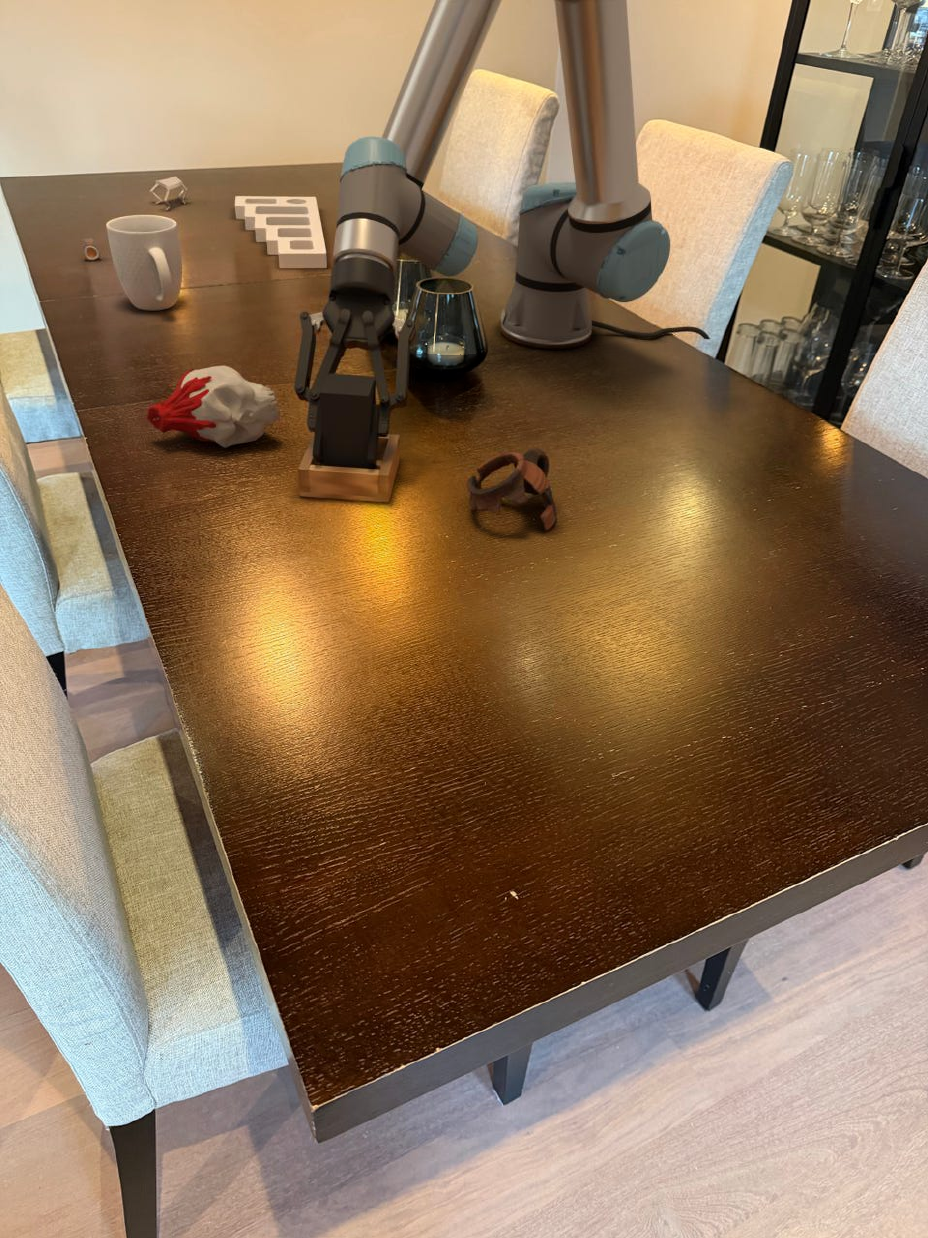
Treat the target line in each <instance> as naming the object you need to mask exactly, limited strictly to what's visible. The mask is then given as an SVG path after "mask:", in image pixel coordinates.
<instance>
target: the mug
mask: <svg viewBox="0 0 928 1238" xmlns="http://www.w3.org/2000/svg"><path fill="white" fill-rule="evenodd" d="M105 227H106V233H107V238H108V239H107V240H108V243H109V249H110V254H111V259H112V262H113V267H114V270H115V273H116V276H117V280H118V281H119V284H120V285H121V288H122V290H123V292H124V294H125V296H126V297H127V298H128V300H129V301H130V303H131V304H132V305H133V306H134V307H135V308H137V309H139V310H143V311H150V312H151V311H152V312H153V311H163V310H167V309H170V308H172V307H174V306H175V304H176V303H177V301H178V299H179V297H180V293H181V289H182V282H183V279H182V278H183V258H182V257H183V256H182V250H181V241H180V236H179V230H178V229H179V228H178V223H177V221H176V220H174V219H173V218H170V217H166V216H162V215H155V214H134V215H125V216H120V217H116V218H112V219H111V220H109V221H107V222H106V225H105Z"/></svg>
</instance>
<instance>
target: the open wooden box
mask: <svg viewBox="0 0 928 1238" xmlns="http://www.w3.org/2000/svg"><path fill="white" fill-rule="evenodd" d="M314 435H315V432H313V433H312V436H311V438H310V441H309V443H308V445H307V447H306V450H305V451H304V454H303V457H302V459H301V460H300V464H299V465H298V468H297V475H298V488H299V489H298V490H299V497H305V498H318V499H319V498H320V499H332V500H347V501H348V500H349V501H359V502H373V503H374V502H375V503H387V504H388V503H389V502H390V499H391V495H392V491H393V489H394V483H395V480H396V476H397V473H398V469H399V464H400V437H401V436H400V434H393V433H392V434H391V433H389V434H388V435H387V437H379V442H378V452H377V462H376V467H375V469H361V468H347V467H333V466H323V463H322V462H316V460H315V459H314V457H313V455H312V454H313V444H314Z"/></svg>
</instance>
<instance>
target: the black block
mask: <svg viewBox="0 0 928 1238" xmlns="http://www.w3.org/2000/svg"><path fill="white" fill-rule="evenodd" d="M319 396H320V416H321V434H322V454H323V466H333V467H347V468H361V469H375V466H369V463H368V460H367V454H368V443H369V435H370V425H371V414H372V404H377V387H376V382H375V377H374V375H373V376H371V375H359V374H345V373H335V374H333V373H329V374H328V375H327V377H326V379H325V382H324V384H323V386H322V388H321V390H320V392H319Z"/></svg>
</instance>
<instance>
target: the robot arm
mask: <svg viewBox="0 0 928 1238" xmlns="http://www.w3.org/2000/svg"><path fill="white" fill-rule="evenodd" d="M502 1H503V0H435V1H434V3H433V6H432V8H431V11H430V14H429V16H428V19H427V21H426V24H425V26H424V29H423V32H422V34H421V37H420V38H419V41H418V44H417V46H416V49H415V51H414V54H413V57H412V59H411V62H410V64H409V67H408V69H407V72H406V74H405V77H404V79H403V82H402V84H401V86H400V90H399V92H398V95H397V97H396V100H395V101H394V105H393V106H392V110H391V112H390V115H389V118H388V120H387V122H386V125H385V128H384V130H383V133H382V135H381V136H373V135H371V136H364V137H360V138H357V139H355V141H353V142H352V143H350V144H349V145H348V147H347V148H346V151H345V154H344V158H343V161H342V166H341V167H342V168H341V174H340V177H339V183H340V184H339V195H338V204H337V205H338V207H337V217H336V226H335V227H336V228H335V235H334V241H333V242H334V243H333V251H332V259H331V261H332V267H331V271H330V280H329V281H330V282H329V289H328V290H329V291H328V299H327V303H326V304H325V306H324V307H323V309H322V311H321V312H317V313H312V314H311V313H309V312H308V311H302V312H300V314H299V320H300V325H301V330H302V332H301V339H300V345H299V346H300V347H299V352H298V359H297V365H296V372H295V379H294V385H293V390H294V392H295V394H296V396H297V397H298V399H299V400H300V401H302V402H303V401H305V402H307V403H308V409H307V419H306V425H307V428H308V430H309V432H310V433H314V432H315V435H314V444H313V454H312V455H313V457H314V459H315V460H316V462H322V463H323V454H322V434H321V416H320V396H319V392H320V390H321V388H322V386H323V384H324V382H325V379H326V377H327V375H328V374H329V373H333V374H337V373H336V372H337V370H338V367H339V365H340V363H341V360H342V358H343V357H344V356H345V354H346V351H347V350H352V349H361V350H363V351H369V355H370V361H371V365H372V366H371V367H372V372H373V376H374V377H375V382H376V393H377V396H378V401H379V403H376V404H372V414H371V425H370V435H369V443H368V454H367V460H368V463H369V466H375V467H376V462H377V452H378V442H379V437H387V435H388V434H390V424H391V423H390V421H391V413H392V412H393V410H395V409H399V408H400V409H405V408H406V407H407V405H408V398H409V397H408V395H409V378H410V375H409V374H410V359H411V357H410V356H411V347H412V345H413V342H414V340H415V338H416V336H417V331H416V323H415V321H414V320H413V319H410V318H409V319H406V320H403V319H400V318H398V317H396V315H395V312H394V310H393V306H394V298H395V297H394V295H395V285H396V277H395V274H396V272H397V264H398V255H399V254H398V253H399V252H401V253H402V254H404V255H406V256H408V257H409V258H411V259H414V260H415V261H417V262H419V263H420V264H423V265H424V266H426V267H427V268H428V269H429V270H431V271H432V272H437V273H438V274H441V275H442V276H445V277H454V276H458V275H459V274H461V273H462V272H464V271H465V270H466V269H467V268H468V267H469V266H470V264H471V262H472V259H473V258H474V255H475V254H476V252H477V250H478V241H479V235H478V231H477V228H476V226H475V225H474V224H473V223H472V222H471V221H470V220H468V219H467V218H465V216H463V214H462V213H461V212H458V211H456V210H454V209H453V208H451V207H450V206H448V205H447V204H445V203H443V202H442V201H441V200H439V199H437V198H436V197H434V196H432V195H431V194H430V193H428V192H426V191H425V190H423V188H424V185H425V183H426V181H427V179H428V177H429V174H430V171H431V169H432V167H433V165H434V163H435V159H436V157H437V155H438V152H439V151H440V148H441V145H442V144H443V140H444V139H445V136H446V133H447V131H448V129H449V127H450V124H451V121H452V119H453V117H454V115H455V112H456V110H457V107H458V105H459V102H460V101H461V98H462V96H463V94H464V91H465V89H466V86H467V83H468V82H469V79H470V77H471V74H472V72H473V70H474V67H475V65H476V63H477V61H478V57H479V56H480V54H481V51H482V48H483V46H484V44H485V42H486V39H487V36H488V34H489V31H490V30H491V27H492V25H493V22H494V20H495V18H496V15H497V13H498V10H499V8H500V6H501V3H502ZM553 1H554V8H555V16H556V26H557V35H558V42H559V43H558V44H559V52H560V61H561V69H562V77H563V86H564V94H565V101H566V102H565V104H566V112H567V121H568V130H569V137H570V139H569V140H570V147H571V156H572V165H573V174H574V182H573V181H572V182H571V181H570V182H567V181H566V182H565V181H564V182H562V181H561V182H545V183H537V184H532V185H530V186H528V187H527V188H525V190H524V191H523V193H522V197H521V204H520V210H519V212H518V214H519V219H518V221H519V222H518V235H517V248H516V249H517V250H516V251H517V252H516V263H515V278H514V284H513V288H512V290H511V292H510V295H509V297H508V300H507V302H506V305H505V307H503V308H502V310H501V314H500V326H499V330H500V331H499V332H500V333H501V334H502V336H503V337H504V338H506V339H507V340H509V341H511V342H513V343H516V344H518V345H522V346H526V347H530V348H535V349H545V350H562V349H563V350H564V349H571V348H577V347H580V346H582V345H584V344H587V343H588V342H589V341H590V340H591V338H592V333H593V327H595V328H599V329H603V330H606V331H610V332H611V333H616V334H619V335H623V336H629V337H632V338H633V337H634V338H639V339H654V338H658V337H660V336H662V335H665V334H674V333H675V334H676V333H684V332H686V333H687V332H689V333H695V334H697V335H699V336H701V338H703V340H711V337H710V336H709V335H708V334H707V333H706V332H705V331H704V330H703V329H701V328H699V327H696V326H689V325H687V326H677V327H664V328H662V329H659V330H657V331H654V332H640V331H633V330H629V329H624V328H621V327H617V326H614V325H611V324H608V323H604V322H601V321H596V320H593V319H592V316H591V310H590V304H589V298H588V293H587V290H588V291H591V292H593V293H595V294H597V295H599V296H600V297H602V298H603V299H608V300H609V299H610V300H613V301H615V302H618V303H630V302H633V301H636V300H638V299H640V298H641V297H643V296H645V295H646V294H648V292H650V291H651V289H652V288H653V287H655V285H656V284H657V282H658V281H659V278H660V277H661V275H662V274H663V273H664V271H665V269H666V267H667V264H668V262H669V258H670V254H671V253H670V252H671V238H670V234H669V232H668V230H667V228H665V227H664V226H663V224H662V223H660V222H659V221H656V220H653V213H652V212H653V211H652V210H653V209H652V196H651V192H650V190H649V189H648V188H646V187H645V186H644V185H643V184H641V183H640V182H639V168H638V150H637V139H636V138H637V136H636V121H635V108H634V107H635V106H634V92H633V91H634V90H633V75H632V62H631V48H630V31H629V18H628V2H627V1H628V0H553ZM324 324H325V325H326V327H327V328H328V330H329V331H330V333H331V336H330V338H329V345H328V347H327V349H326V351H325V354H324V356H323V359H322V361H321V364H320V366H319V369H318V371H317V373H316V376H315V378H314V380H313V383H312V386H311V380H312V375H313V374H312V373H313V367H314V361H315V354H316V347H317V335H319V334H320V333H321V331H322V327H323V325H324ZM392 330H394V334H395V338H396V339H397V340H398V341H397V353H396V355H397V356H396V358H397V359H396V373H395V374H396V376H395V391H394V393H391V394H390V393H389V386H388V382H387V377H386V372H385V367H384V362H383V357H382V356H383V355H382V351H381V347H380V343H381V342H382V341H383V340H384V338H385V337H386V336H387V335H388V334H389V333H390V332H391V331H392ZM310 387H311V388H310Z"/></svg>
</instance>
